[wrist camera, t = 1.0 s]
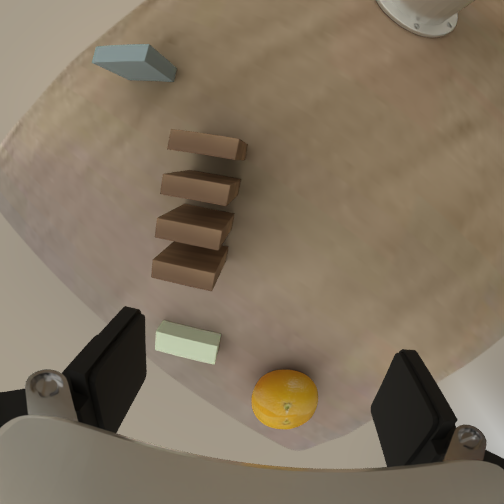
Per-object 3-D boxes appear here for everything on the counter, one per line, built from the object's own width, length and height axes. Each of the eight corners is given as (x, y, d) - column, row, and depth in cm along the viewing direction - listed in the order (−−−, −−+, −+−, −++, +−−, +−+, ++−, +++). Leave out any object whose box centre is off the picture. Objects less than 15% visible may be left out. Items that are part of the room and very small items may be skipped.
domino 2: (195, 136, 33) (170, 129, 25) (247, 144, 33) (239, 138, 25) (193, 151, 34) (167, 149, 25) (244, 160, 34) (234, 159, 25)
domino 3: (189, 170, 35) (163, 173, 26) (240, 179, 35) (229, 185, 26) (187, 185, 35) (160, 194, 27) (238, 194, 35) (226, 206, 26)
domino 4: (184, 203, 36) (157, 218, 27) (234, 213, 36) (221, 230, 27) (182, 218, 36) (154, 237, 28) (231, 228, 36) (218, 250, 28)
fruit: (314, 355, 40) (321, 394, 33) (315, 397, 43) (320, 436, 35) (249, 361, 41) (245, 400, 34) (256, 402, 44) (253, 441, 36)
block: (163, 320, 40) (156, 331, 37) (221, 333, 40) (217, 346, 37) (162, 338, 41) (155, 349, 38) (217, 351, 41) (214, 364, 38)
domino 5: (179, 236, 37) (152, 259, 28) (228, 246, 37) (214, 273, 28) (177, 250, 37) (151, 277, 29) (225, 260, 37) (211, 291, 29)
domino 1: (132, 66, 31) (96, 46, 23) (177, 68, 31) (149, 44, 23) (129, 80, 32) (91, 62, 23) (173, 82, 32) (144, 61, 23)
